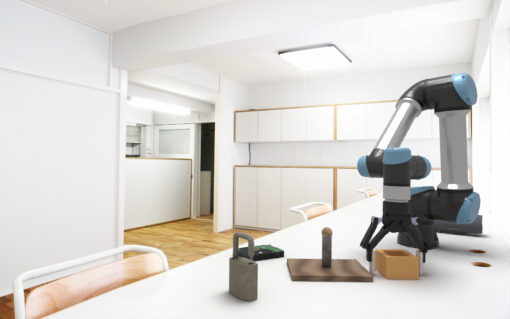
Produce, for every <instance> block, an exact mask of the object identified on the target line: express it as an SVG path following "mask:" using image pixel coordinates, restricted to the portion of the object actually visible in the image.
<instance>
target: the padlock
mask: <svg viewBox="0 0 510 319" xmlns="http://www.w3.org/2000/svg"><path fill="white" fill-rule="evenodd" d="M239 239H242V240H245V241H247V247H248V255H249V258H250V259H247V258H244V257H238V254H239V248H240V247H239V244H240V243H239V241H240V240H239ZM254 246H255V238H254V237H253V236H252V235H251V234H249V233H246V232H242V231H236V232H235V233H234V234H233V238H232V257H229V258H228V259H229V260H228V261H229V262H228V266H229V267H228V291H229V293H230V294H231V295H232V296H234V297H236V298H237V299H240V300H243V301H246V302H251V301H255V300H258V292H259V291H258V290H259V289H258V285H259V284H258V282H259V281H258V280H259V278H258V277H259V275H258V274H259V273H258V272H259V264H258V262H257V261H253V260H252V258H253V255H254Z"/></svg>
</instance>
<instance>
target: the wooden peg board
mask: <svg viewBox="0 0 510 319" xmlns="http://www.w3.org/2000/svg"><path fill="white" fill-rule="evenodd" d="M320 232H321V258H292V257H291V258H286V265H287V268H288V271H289V274H290V275H289V276H290V277H291V278H290V279H291V281H292V282H338V281H339V283H340V281H341V282H343V281H344V282H345V283H346V281H347V283H349V282H351V283H355V282H358V283H374V275H373V274H371V273H370V272H369V270H367V268H366V267H365V266H364V265H363V264H361V262H359V261H358V260H357V259H356V258H355V259H353V258H351V259H350V258H347V259H346V258H332V254H333V253H332V252H333V251H332V248H333V245H332V244H333V242H332V241H333V239H332V238H333V230H332V228H330V227H327V226H326V227H323V228H322V230H321V231H320Z"/></svg>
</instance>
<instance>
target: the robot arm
mask: <svg viewBox="0 0 510 319" xmlns="http://www.w3.org/2000/svg"><path fill="white" fill-rule="evenodd" d="M475 82H476V81H475V80H474V78H473V77H472V76H471V75H470V74H468V73H466V72H461V73H460V72H459V73H453V74H448V75H447V74H446V75H442V76H437V77H432V78H426V79H422V80H419V81H417V82H416V83H413V85H411V86H410V87H409V88H407V89H406V90H405V91H404V92H403V93H402V94H401V95H400V97H399V98H398V100H397V102H396V103H395V111H394V112H393V114H392V116H391V118H390V119H389V121H388V123H387V125H386V126H385V128H384V130H383V131H382V133H381V134H380V136H379V138H378V140H377V141H376V143H375V145H374V147H373V149H372V150H371V152H370V154H369V155H367V154H366V155H362V156H360V157H359V158H358V160H357V164H356V168H357V172H358V174H359V175H360V176H362V177H365V178H369V179H370V178H371V179H377V178H378V179H383V180H382V198H383V199H384V200H383V201H382V214H381V217H378V216H376V215H372V216H371V219H370V224H369V225H368V228H367V229H366V231H365V233H364V235H363V237H362V239H361V241H360V243H359V247H360V248H362V249H363V250H366V251H365V255H366V256H365V260H366V261H367V262H368V265H369V267H368V272H369V273H370V274H371V275H376V269H375V249H376V247H377V246H378V244H380V242H381V241H383V239H384V238H385V236H386V235H388V234H390V233H391V234H396V233H397V237H396V242H397V244H400V245H402V246H406V247H411V248H417V249H416V250H415V256H417V257H418V258H419V276H423V275H424V274H423V271H424V270H423V267H424V266H423V264H425V263H426V262H427V261H426V257H427V253H428V252H429V251H432V250H433V249H436V248H438V247H440V240H439V237H438V234H437V230H435V228H434V220H439V221H446V222H454V223H457V224H459V223H462V224H471V223H472V222H474V221H475V219H476V218H477V215H479V212H480V210H481V209H480V208H481V196H480V194H479V193H478V192H476V191H474V185H472V184H471V183H470V182H469V165H468V164H469V163H468V161H469V160H468V136H467V129H468V128H467V115H468V114H470V112H471V111H472V106H474V105H476V104H477V102H478V90H477V86H476V83H475ZM427 110H428V111H429V110H433V115H435V116H436V117H437V118H438V123H439V124H438V127H439V129H438V130H439V154H440V155H439V156H440V181H441V182H440V183H438V184H437V186H436V188H435V186H434V185H426V186H425V185H423V186H411V185H412V184H411V182H412V180H417V181H419V180H422V179H426V178H427V177H428V176H429V175H430V174H431V171H432V164H431V162H430V160H429V158H427V157H425V156H421V155H419V154H417V155H416V154H414V155H412V150H411V149H410V147H401V145H402V144H403V141H404V140H405V138H406V136H407V135H408V132H409V130H410V128H412V124H413V123H414V122H415V119H416V118H419V116H421V114H422V113H423V112H425V111H427ZM380 224H382V226H381V227H380V229H379V231H377V233H375V232H376V230H377V229H378V226H379V225H380ZM374 234H375V235H374Z"/></svg>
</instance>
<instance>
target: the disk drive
mask: <svg viewBox="0 0 510 319" xmlns="http://www.w3.org/2000/svg"><path fill="white" fill-rule="evenodd" d="M238 257H244V258H247V259H250V258H249V255H248V246H244V247H242V246H241V247H239V254H238ZM281 258H282V259H283V258H285V250H283V249H281V248H279V247H277V246H273V245H272V244H261V245H254V255H253V258H252V260H253V261H255V262H261V261H267V260H274V259H281Z"/></svg>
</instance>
